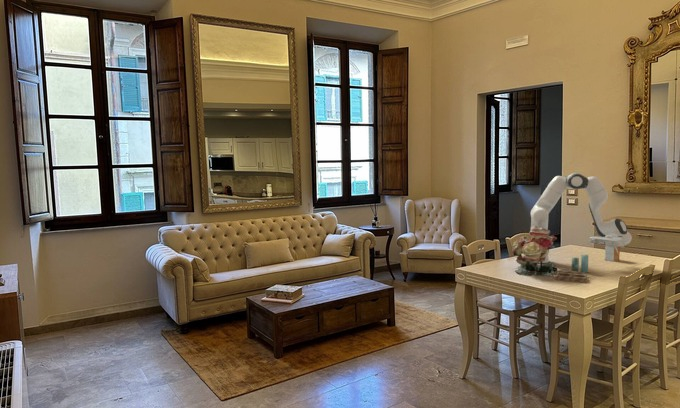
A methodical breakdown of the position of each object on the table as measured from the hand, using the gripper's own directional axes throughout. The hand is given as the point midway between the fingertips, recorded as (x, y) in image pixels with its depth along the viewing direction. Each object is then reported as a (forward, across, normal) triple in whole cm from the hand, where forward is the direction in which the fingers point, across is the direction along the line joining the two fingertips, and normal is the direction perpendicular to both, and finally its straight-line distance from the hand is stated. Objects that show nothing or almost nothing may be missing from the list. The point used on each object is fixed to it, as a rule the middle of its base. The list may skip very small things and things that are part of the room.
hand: (598, 242), depth 306 cm
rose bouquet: (+39, -17, +18) cm, 46 cm away
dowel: (+12, 0, +18) cm, 22 cm away
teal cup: (+24, -2, +18) cm, 30 cm away
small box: (-36, -15, +19) cm, 43 cm away
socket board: (+35, +8, +18) cm, 40 cm away
